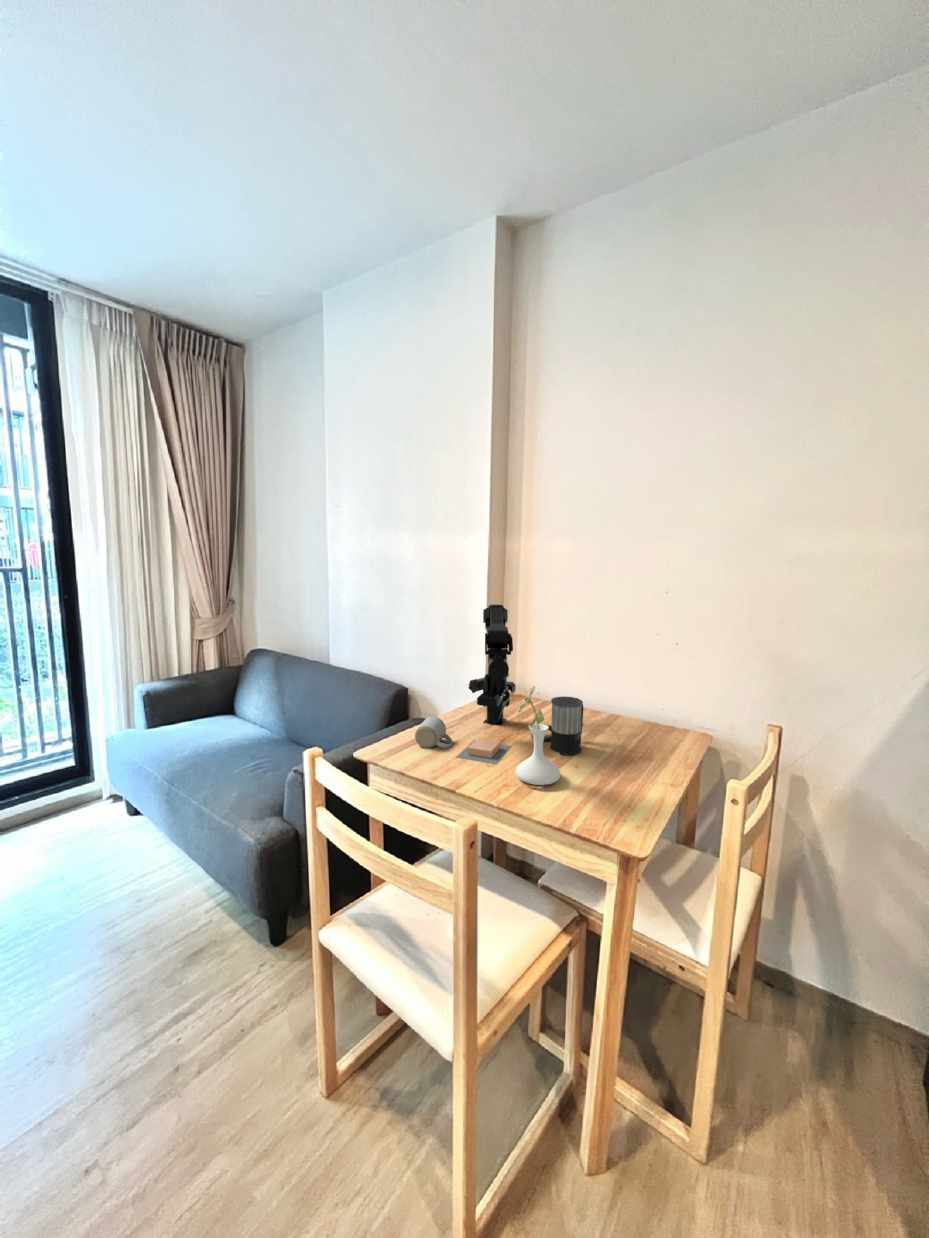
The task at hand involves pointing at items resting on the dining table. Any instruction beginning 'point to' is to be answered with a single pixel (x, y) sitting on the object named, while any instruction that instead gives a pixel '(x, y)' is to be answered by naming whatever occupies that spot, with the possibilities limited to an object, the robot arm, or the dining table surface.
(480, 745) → the picture frame
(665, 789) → the dining table surface
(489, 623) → the robot arm
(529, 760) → the flower in vase
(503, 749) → the mat
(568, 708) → the milk frother
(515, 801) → the dining table surface
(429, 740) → the ceramic mug
